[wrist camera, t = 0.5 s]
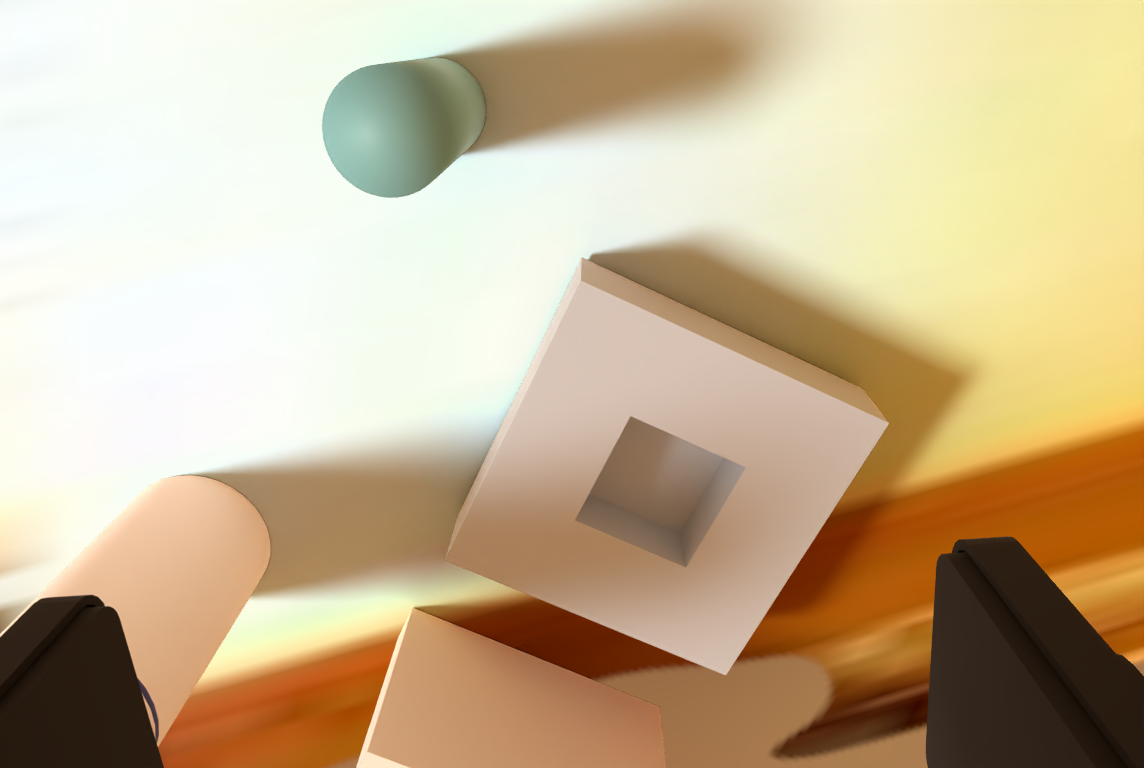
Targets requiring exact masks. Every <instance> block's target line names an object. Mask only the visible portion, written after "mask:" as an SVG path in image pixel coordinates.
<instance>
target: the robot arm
mask: <svg viewBox="0 0 1144 768" xmlns="http://www.w3.org/2000/svg"><path fill="white" fill-rule="evenodd" d="M926 759H927V765H928V768H1144V676H1143V675H1142V674H1141V673H1140V672H1139V671H1138V670H1137V668H1136V667H1135V666H1134V665H1133V664H1132V663H1131V662H1129V661H1128V660H1127V659H1126V658H1125V657H1124V656H1122V655H1119V654H1116V653H1115V652H1114V651H1113V650H1112V649H1111V648H1110V647H1109V645H1108V644H1107V643H1106V642H1105V641H1104V640H1103V639H1102V637H1101V636H1100V635H1099V634H1098V633H1097V632H1096V630H1095V629H1094V628H1093V627H1092V626H1091V625H1090V624H1089V622H1088V621H1087V620H1086V619H1085V618H1084V617H1083V616H1082V614H1081V613H1080V612H1079V611H1078V610H1077V609H1076V607H1075V606H1074V605H1073V604H1072V603H1071V602H1070V601H1069V599H1068V598H1067V597H1066V596H1065V595H1064V594H1063V593H1062V591H1061V590H1060V589H1059V588H1058V587H1057V586H1056V584H1055V583H1054V582H1053V581H1052V580H1051V579H1050V578H1049V576H1048V575H1047V574H1046V573H1045V572H1044V571H1043V570H1042V568H1041V567H1040V566H1039V565H1038V564H1037V563H1036V561H1035V560H1034V559H1033V558H1032V557H1031V556H1030V555H1029V553H1028V552H1027V551H1026V550H1025V549H1024V548H1023V547H1022V545H1021V544H1020V543H1019V542H1018V541H1017V540H1016V539H1014V538H1013V537H994V538H978V539H962V540H958V541H957V542H956V543H955V545H954V547H953V550H952V553H949V554H941V555H940V556H939V558H938V561H937V567H936V583H935V600H934V616H933V633H932V650H931V667H930V684H929V701H928V718H927V736H926ZM0 768H164V767H163V763H162V760H161V756H160V753H159V750H158V746H157V743H156V740H155V736H154V733H153V729H152V726H151V723H150V719H149V716H148V712H147V709H146V706H145V702H144V699H143V695H142V692H141V689H140V685H139V682H138V678H137V675H136V672H135V668H134V665H133V661H132V658H131V655H130V651H129V648H128V644H127V641H126V638H125V634H124V631H123V627H122V624H121V621H120V618H119V615H118V613H117V611H116V610H115V609H114V608H112V607H110V606H105V605H104V603H103V602H102V600H101V599H100V598H99V597H97V596H94V595H78V596H63V597H47V598H42V599H39V600H38V601H37V602H35V603H34V604H33V605H32V606H31V607H30V608H29V609H28V610H27V611H26V612H25V613H24V614H23V615H22V616H21V617H20V618H19V619H18V620H17V621H16V622H15V623H14V624H13V625H12V626H11V627H10V628H9V629H8V630H7V631H6V632H5V633H4V634H3V635H2V636H1V637H0Z"/></svg>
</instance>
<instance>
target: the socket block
mask: <svg viewBox="0 0 1144 768" xmlns="http://www.w3.org/2000/svg"><path fill="white" fill-rule="evenodd" d="M888 424H889V422H888V421H887V420H886V418H885V417H884V416H883V414H882V413H881V412H880V410H879V409H878V408H877V407H876V405H875V404H874V403H873V401H872V400H871V399H870V397H869V396H868V395H867V393H866V392H865V391H864V390H863V388H861V387H859V386H856V385H854V384H852V383H850V382H848V381H846V380H844V379H842V378H839V377H837V376H835V375H833V374H831V373H829V372H827V371H824V370H822V369H820V368H818V367H816V366H814V365H812V364H809V363H807V362H805V361H803V360H801V359H799V358H797V357H794V356H792V355H790V354H788V353H786V352H784V351H782V350H779V349H777V348H775V347H773V346H771V345H769V344H767V343H764V342H762V341H760V340H758V339H756V338H754V337H752V336H749V335H747V334H745V333H743V332H741V331H739V330H737V329H734V328H732V327H730V326H728V325H726V324H724V323H722V322H719V321H717V320H715V319H713V318H711V317H709V316H707V315H704V314H702V313H700V312H698V311H696V310H694V309H692V308H689V307H687V306H685V305H683V304H681V303H679V302H677V301H674V300H672V299H670V298H668V297H666V296H664V295H662V294H659V293H657V292H655V291H653V290H651V289H649V288H647V287H644V286H642V285H640V284H638V283H636V282H634V281H632V280H629V279H627V278H625V277H623V276H621V275H619V274H617V273H614V272H612V271H610V270H608V269H606V268H604V267H602V266H599V265H597V264H595V263H593V262H591V261H589V260H587V259H584V258H581V260H580V262H579V264H578V267H577V269H576V271H575V273H574V275H573V277H572V279H571V281H570V283H569V285H568V287H567V289H566V292H565V294H564V296H563V298H562V300H561V302H560V304H559V306H558V308H557V310H556V312H555V314H554V316H553V319H552V321H551V323H550V325H549V327H548V329H547V331H546V333H545V335H544V337H543V339H542V341H541V343H540V346H539V348H538V350H537V352H536V354H535V356H534V358H533V360H532V362H531V364H530V366H529V368H528V370H527V373H526V375H525V377H524V379H523V381H522V383H521V385H520V387H519V389H518V391H517V393H516V395H515V397H514V400H513V402H512V404H511V406H510V408H509V410H508V412H507V414H506V416H505V418H504V420H503V422H502V424H501V427H500V429H499V431H498V433H497V435H496V437H495V439H494V441H493V443H492V445H491V447H490V449H489V452H488V454H487V456H486V458H485V460H484V462H483V464H482V466H481V468H480V470H479V472H478V474H477V476H476V479H475V481H474V483H473V485H472V487H471V489H470V491H469V493H468V495H467V497H466V499H465V501H464V503H463V506H462V508H461V510H460V512H459V514H458V516H457V519H456V523H455V526H454V530H453V533H452V537H451V541H450V544H449V548H448V551H447V555H446V558H445V561H447V562H450V563H452V564H455V565H457V566H460V567H462V568H464V569H467V570H469V571H472V572H474V573H477V574H479V575H482V576H484V577H486V578H489V579H491V580H494V581H496V582H499V583H501V584H503V585H506V586H508V587H511V588H513V589H516V590H518V591H521V592H523V593H525V594H528V595H530V596H533V597H535V598H538V599H540V600H543V601H545V602H547V603H550V604H552V605H555V606H557V607H560V608H562V609H564V610H567V611H569V612H572V613H574V614H577V615H579V616H582V617H584V618H586V619H589V620H591V621H594V622H596V623H599V624H601V625H604V626H606V627H608V628H611V629H613V630H616V631H618V632H621V633H623V634H625V635H628V636H630V637H633V638H635V639H638V640H640V641H643V642H645V643H647V644H650V645H652V646H655V647H657V648H660V649H662V650H665V651H667V652H669V653H672V654H674V655H677V656H679V657H682V658H684V659H686V660H689V661H691V662H694V663H696V664H699V665H701V666H704V667H706V668H708V669H711V670H713V671H716V672H718V673H721V674H724V675H726V674H727V673H728V671H729V670H730V668H731V667H732V665H733V664H734V662H735V661H736V659H737V657H738V656H739V654H740V653H741V651H742V650H743V648H744V647H745V645H746V644H747V642H748V640H749V639H750V637H751V636H752V634H753V633H754V631H755V630H756V628H757V627H758V625H759V624H760V622H761V620H762V619H763V617H764V616H765V614H766V613H767V611H768V610H769V608H770V607H771V605H772V603H773V602H774V600H775V599H776V597H777V596H778V594H779V593H780V591H781V590H782V588H783V586H784V585H785V583H786V582H787V580H788V579H789V577H790V576H791V574H792V573H793V571H794V570H795V568H796V566H797V565H798V563H799V562H800V560H801V559H802V557H803V556H804V554H805V553H806V551H807V549H808V548H809V546H810V545H811V543H812V542H813V540H814V539H815V537H816V536H817V534H818V532H819V531H820V529H821V528H822V526H823V525H824V523H825V522H826V520H827V519H828V517H829V516H830V514H831V512H832V511H833V509H834V508H835V506H836V505H837V503H838V502H839V500H840V499H841V497H842V495H843V494H844V492H845V491H846V489H847V488H848V486H849V485H850V483H851V482H852V480H853V478H854V477H855V475H856V474H857V472H858V471H859V469H860V468H861V466H862V465H863V463H864V462H865V460H866V458H867V457H868V455H869V454H870V452H871V451H872V449H873V448H874V446H875V445H876V443H877V441H878V440H879V438H880V437H881V435H882V434H883V432H884V431H885V429H886V428H887V426H888Z"/></svg>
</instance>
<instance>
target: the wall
mask: <svg viewBox="0 0 1144 768" xmlns="http://www.w3.org/2000/svg"><path fill="white" fill-rule="evenodd" d="M356 768H666V762H665V752H664V742H663V732H662V723H661V712H660V707H659V706H657V705H654V704H652V703H649V702H647V701H644V700H642V699H639V698H637V697H634V696H632V695H629V694H627V693H624V692H622V691H619V690H617V689H614V688H612V687H609V686H607V685H604V684H602V683H599V682H597V681H594V680H592V679H589V678H587V677H584V676H582V675H579V674H577V673H574V672H572V671H569V670H567V669H564V668H562V667H559V666H557V665H554V664H552V663H549V662H547V661H544V660H542V659H539V658H537V657H534V656H532V655H529V654H527V653H524V652H522V651H519V650H517V649H514V648H512V647H509V646H507V645H504V644H502V643H499V642H497V641H495V640H492V639H490V638H487V637H485V636H482V635H480V634H477V633H475V632H472V631H470V630H467V629H465V628H462V627H460V626H457V625H455V624H452V623H450V622H447V621H445V620H442V619H440V618H437V617H435V616H432V615H430V614H427V613H425V612H422V611H420V610H417V609H415V608H412V610H411V612H410V614H409V617H408V619H407V621H406V623H405V625H404V627H403V629H402V631H401V633H400V635H399V637H398V640H397V643H396V647H395V650H394V653H393V656H392V659H391V662H390V665H389V668H388V671H387V674H386V677H385V680H384V684H383V687H382V690H381V693H380V696H379V699H378V702H377V705H376V708H375V711H374V714H373V718H372V721H371V724H370V727H369V730H368V733H367V736H366V739H365V742H364V745H363V748H362V752H361V755H360V758H359V761H358V764H357V767H356Z"/></svg>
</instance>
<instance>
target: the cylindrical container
mask: <svg viewBox="0 0 1144 768" xmlns="http://www.w3.org/2000/svg"><path fill="white" fill-rule="evenodd" d="M270 547H271V543H270V538H269V533H268V530H267V527H266V525H265V523H264V521H263V518H262V517H261V515H260V514H259V512H258V511H257V510H256V508H255V507H254V506H253V505H252V504H251V503H250V502H249V501H248V500H247V499H246V498H245V497H244V496H243V495H242V494H240V493H239V492H237V491H236V490H235V489H233V488H232V487H230V486H228V485H226V484H224V483H221V482H219V481H216V480H213V479H210V478H207V477H201V476H193V475H183V476H173V477H169V478H165V479H162V480H159V481H157V482H155V483H153V484H151V485H149V486H148V487H147V488H146V489H145V490H143V491H142V492H141V493H140V494H139V495H138V496H137V497H136V498H135V499H134V500H133V501H132V502H131V503H130V504H129V505H128V506H127V507H126V508H125V509H124V510H123V511H122V512H121V513H120V514H119V515H118V516H117V517H116V518H115V519H114V520H113V521H112V522H111V523H110V524H109V525H108V526H107V527H106V528H105V529H104V530H103V531H102V532H101V533H100V534H99V535H98V536H97V537H96V538H95V539H94V540H93V541H92V542H91V543H90V544H89V545H88V546H87V547H86V548H85V549H84V550H83V551H82V552H81V553H80V554H79V555H78V556H77V557H76V558H75V559H74V560H73V561H72V562H71V563H70V564H69V565H68V566H67V567H66V568H65V569H64V570H63V571H62V572H61V573H60V574H59V575H58V576H57V577H56V578H55V579H54V580H53V581H52V583H51V584H50V585H49V586H48V587H47V588H46V589H45V590H44V591H43V592H42V593H41V594H40V595H39V596H38V597H37V598H36V599H35V600H34V601H33V602H32V603H31V604H30V605H29V606H28V607H27V608H26V609H25V610H24V611H23V612H22V613H21V614H20V615H19V616H18V617H17V618H16V619H15V620H14V621H13V622H12V623H11V624H10V625H9V626H8V627H7V628H6V629H5V630H4V631H3V632H2V633H1V634H0V637H1V636H2V635H3V634H4V633H5V632H6V631H7V630H8V629H9V628H10V627H11V626H12V625H13V624H14V623H15V622H16V621H17V620H18V619H19V618H20V617H21V616H22V615H23V614H24V613H25V612H26V611H27V610H28V609H29V608H30V607H31V606H32V605H33V604H34V603H35V602H37V601H38V600H39V599H42V598H47V597H63V596H78V595H94V596H97V597H99V598H100V599H101V600H102V602H103V603H104V605H105V606H110V607H112V608H114V609H115V610H116V611H117V613H118V615H119V618H120V621H121V624H122V627H123V631H124V634H125V638H126V641H127V644H128V648H129V651H130V655H131V658H132V661H133V665H134V668H135V672H136V675H137V678H138V682H139V685H140V689H141V692H142V695H143V699H144V702H145V706H146V709H147V712H148V716H149V719H150V723H151V726H152V729H153V733H154V736H155V740H156V743H157V746H159V745H160V743H161V741H162V740H163V738H164V736H165V735H166V733H167V732H168V730H169V728H170V727H171V725H172V723H173V722H174V720H175V718H176V717H177V715H178V714H179V712H180V710H181V709H182V707H183V705H184V704H185V702H186V700H187V699H188V697H189V696H190V694H191V692H192V691H193V689H194V687H195V686H196V684H197V683H198V681H199V679H200V678H201V676H202V674H203V673H204V671H205V669H206V668H207V666H208V665H209V663H210V661H211V660H212V658H213V656H214V655H215V653H216V651H217V650H218V648H219V647H220V645H221V643H222V642H223V640H224V638H225V637H226V635H227V633H228V632H229V630H230V629H231V627H232V625H233V624H234V622H235V620H236V619H237V617H238V615H239V614H240V612H241V611H242V609H243V607H244V606H245V604H246V602H247V601H248V599H249V598H250V596H251V594H252V593H253V591H254V589H255V588H256V586H257V584H258V583H259V581H260V580H261V578H262V576H263V574H264V572H265V570H266V568H267V566H268V563H269V559H270Z"/></svg>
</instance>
